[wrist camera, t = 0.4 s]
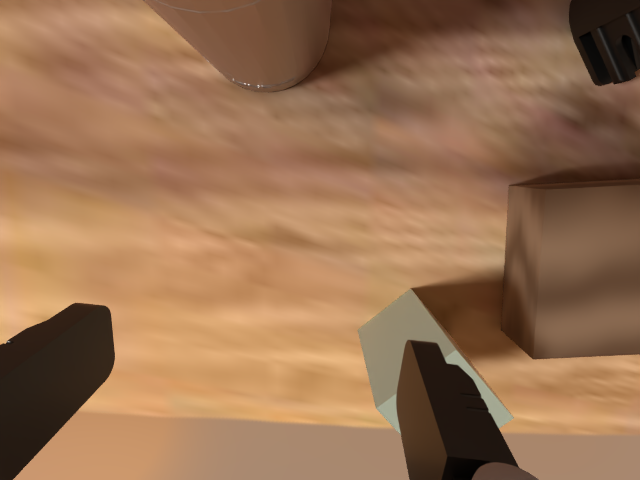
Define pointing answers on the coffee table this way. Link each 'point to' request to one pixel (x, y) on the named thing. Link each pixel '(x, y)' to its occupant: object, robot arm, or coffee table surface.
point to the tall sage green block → (388, 348)
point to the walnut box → (573, 269)
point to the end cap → (607, 38)
